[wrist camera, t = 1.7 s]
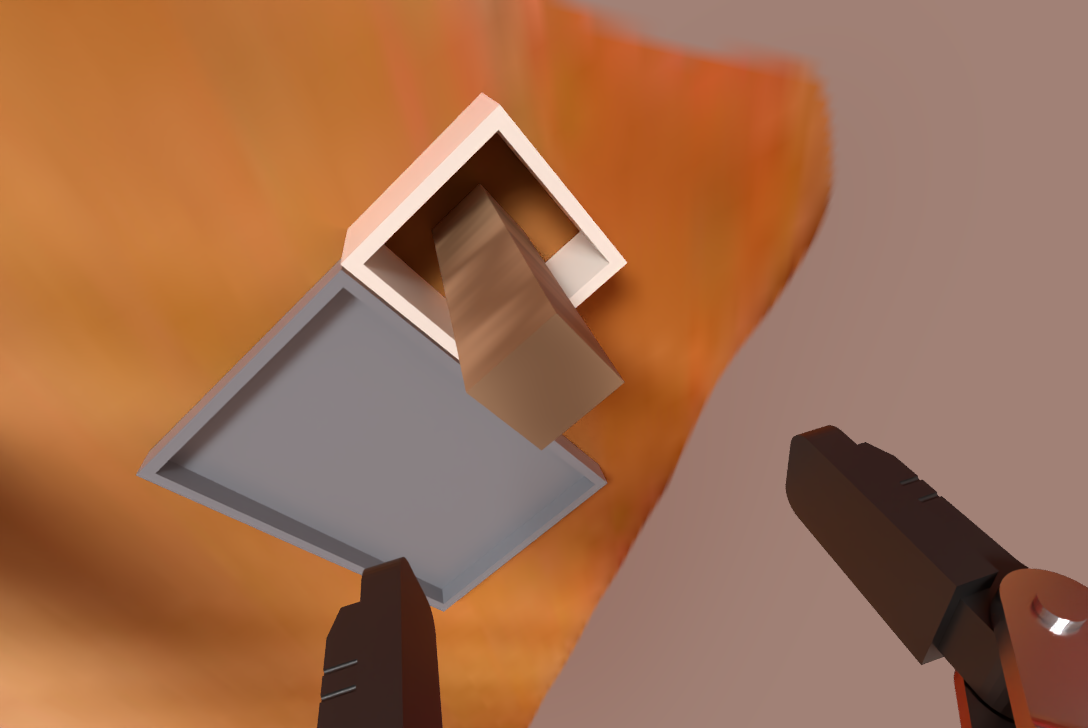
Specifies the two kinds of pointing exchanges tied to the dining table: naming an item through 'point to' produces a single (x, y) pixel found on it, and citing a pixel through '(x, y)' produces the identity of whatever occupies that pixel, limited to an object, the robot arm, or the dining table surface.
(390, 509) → the tray
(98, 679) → the dining table surface
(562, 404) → the peg
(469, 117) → the square frame
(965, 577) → the robot arm
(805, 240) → the dining table surface
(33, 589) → the dining table surface
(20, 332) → the dining table surface
